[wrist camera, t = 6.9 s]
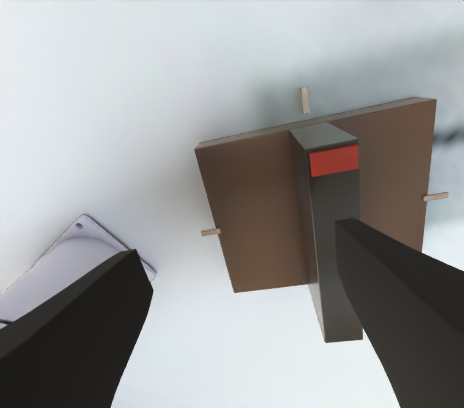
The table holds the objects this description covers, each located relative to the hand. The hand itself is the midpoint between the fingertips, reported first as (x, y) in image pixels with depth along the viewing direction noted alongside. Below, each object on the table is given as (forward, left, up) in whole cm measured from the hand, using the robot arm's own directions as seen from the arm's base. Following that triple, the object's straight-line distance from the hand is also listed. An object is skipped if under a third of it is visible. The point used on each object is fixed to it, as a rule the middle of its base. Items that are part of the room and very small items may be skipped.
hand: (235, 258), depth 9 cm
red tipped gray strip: (+2, -5, -8) cm, 10 cm away
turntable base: (+2, -5, -10) cm, 12 cm away
